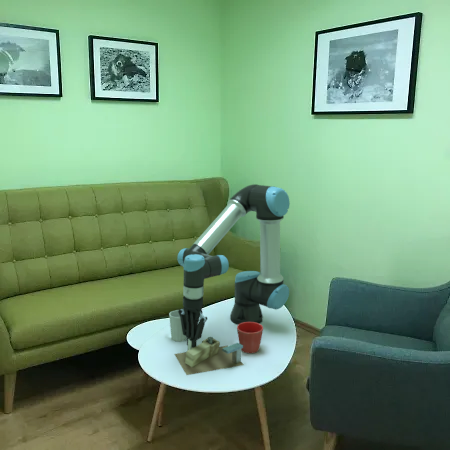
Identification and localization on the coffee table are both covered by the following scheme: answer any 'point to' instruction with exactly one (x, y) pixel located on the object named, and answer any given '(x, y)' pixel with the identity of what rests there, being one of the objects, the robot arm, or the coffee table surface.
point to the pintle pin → (210, 340)
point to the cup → (176, 327)
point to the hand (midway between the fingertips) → (191, 354)
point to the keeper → (234, 352)
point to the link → (201, 352)
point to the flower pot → (250, 336)
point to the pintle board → (208, 362)
